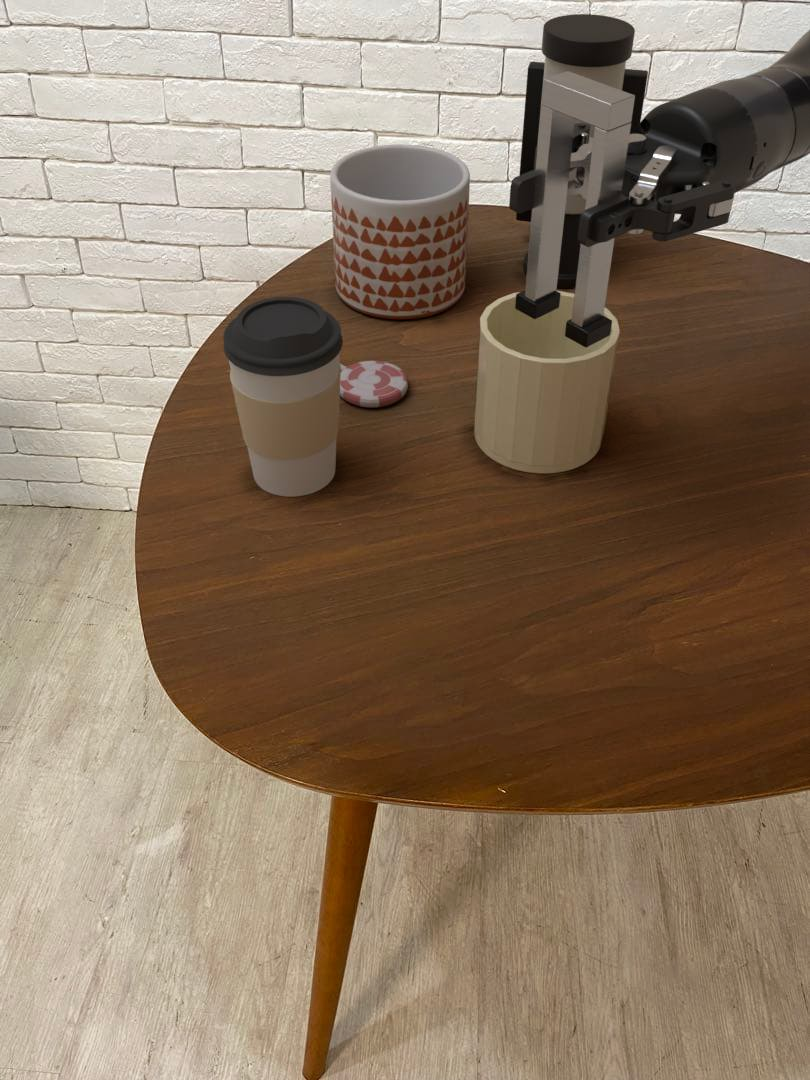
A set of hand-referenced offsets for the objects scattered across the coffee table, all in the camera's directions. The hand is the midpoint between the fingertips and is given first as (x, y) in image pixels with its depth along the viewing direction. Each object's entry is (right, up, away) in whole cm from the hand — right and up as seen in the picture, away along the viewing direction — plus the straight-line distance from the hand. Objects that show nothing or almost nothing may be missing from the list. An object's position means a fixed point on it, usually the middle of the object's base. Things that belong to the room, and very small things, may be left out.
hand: (548, 213), depth 66 cm
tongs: (+2, -5, +7) cm, 9 cm away
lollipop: (-15, -5, +33) cm, 37 cm away
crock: (+3, -11, +26) cm, 29 cm away
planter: (-10, +6, +45) cm, 46 cm away
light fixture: (+8, +10, +49) cm, 51 cm away
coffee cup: (-18, -15, +22) cm, 33 cm away
